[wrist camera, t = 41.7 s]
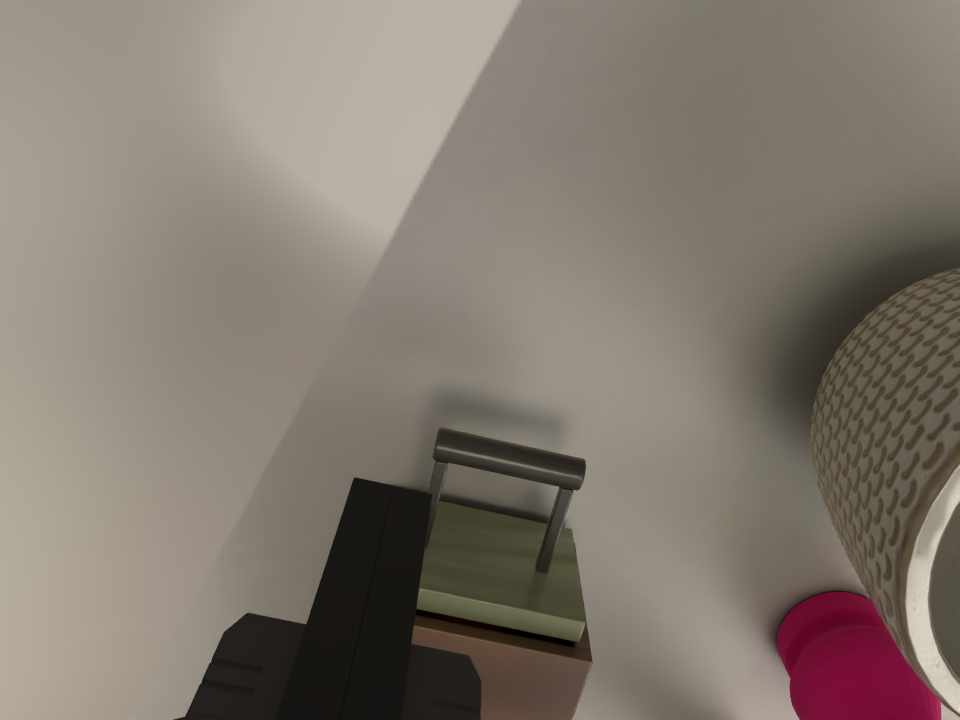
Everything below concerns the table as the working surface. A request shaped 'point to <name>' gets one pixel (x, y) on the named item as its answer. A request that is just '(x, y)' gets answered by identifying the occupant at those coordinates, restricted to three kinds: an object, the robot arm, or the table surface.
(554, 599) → the drawer
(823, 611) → the pepper mill
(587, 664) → the cabinet
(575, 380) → the table surface
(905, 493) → the planter
